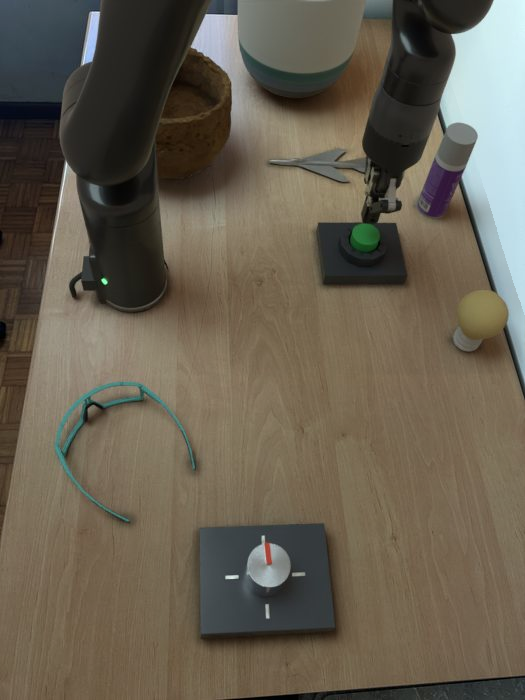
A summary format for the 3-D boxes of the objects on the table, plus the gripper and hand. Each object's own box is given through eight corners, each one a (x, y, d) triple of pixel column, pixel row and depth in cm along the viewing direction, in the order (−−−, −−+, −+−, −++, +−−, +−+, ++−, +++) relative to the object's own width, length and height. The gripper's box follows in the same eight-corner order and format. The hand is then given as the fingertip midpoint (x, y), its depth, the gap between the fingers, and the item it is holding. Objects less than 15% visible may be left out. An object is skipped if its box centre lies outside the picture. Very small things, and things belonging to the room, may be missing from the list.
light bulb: (459, 368, 90) (486, 328, 82) (433, 332, 93) (455, 290, 84) (496, 351, 92) (526, 311, 83) (469, 316, 95) (495, 274, 86)
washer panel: (200, 638, 70) (200, 634, 68) (199, 535, 76) (199, 527, 73) (330, 631, 72) (335, 627, 69) (320, 530, 77) (324, 522, 75)
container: (444, 222, 104) (478, 147, 91) (415, 216, 104) (444, 141, 91) (446, 200, 106) (479, 125, 94) (417, 194, 107) (446, 119, 94)
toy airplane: (267, 147, 110) (268, 136, 108) (392, 153, 111) (395, 142, 109) (267, 180, 106) (269, 169, 104) (397, 186, 107) (400, 176, 105)
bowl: (130, 111, 112) (120, 29, 99) (240, 131, 111) (244, 51, 99) (96, 191, 102) (80, 111, 89) (216, 213, 102) (217, 136, 89)
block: (322, 284, 96) (326, 267, 92) (315, 231, 101) (319, 213, 98) (403, 284, 97) (410, 267, 94) (392, 232, 102) (399, 214, 99)
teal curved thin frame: (133, 376, 86) (131, 359, 81) (207, 462, 82) (210, 449, 78) (39, 442, 80) (32, 428, 76) (114, 537, 77) (111, 528, 72)
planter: (350, 124, 114) (377, 5, 96) (232, 117, 113) (237, -6, 95) (344, 50, 125) (367, -70, 106) (236, 43, 124) (240, -80, 105)
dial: (288, 595, 70) (293, 584, 66) (247, 599, 70) (249, 589, 65) (283, 553, 73) (288, 540, 68) (243, 557, 72) (245, 544, 68)
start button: (351, 252, 95) (354, 244, 93) (348, 231, 97) (350, 223, 95) (379, 252, 95) (382, 244, 94) (375, 231, 97) (377, 223, 96)
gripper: (361, 80, 80) (336, 184, 95) (378, 158, 74) (348, 257, 88) (422, 82, 81) (387, 185, 96) (443, 159, 74) (403, 257, 89)
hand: (368, 219), depth 92 cm, fingers closed
